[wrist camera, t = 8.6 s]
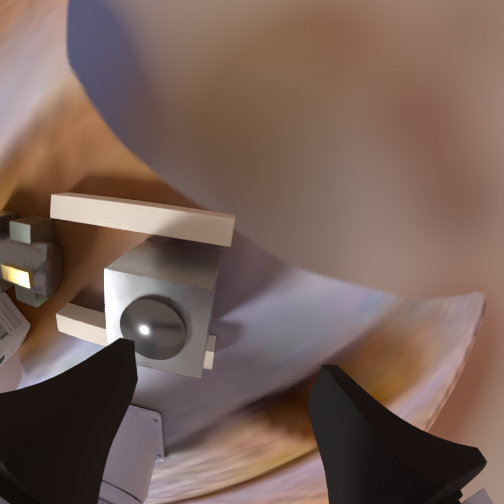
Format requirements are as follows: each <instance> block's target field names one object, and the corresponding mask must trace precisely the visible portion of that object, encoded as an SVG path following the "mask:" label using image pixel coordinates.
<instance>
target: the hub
mask: <svg viewBox="0 0 504 504" xmlns="http://www.w3.org/2000/svg"><path fill="white" fill-rule="evenodd" d="M221 254H222V253H220V252H214V251H208V250H202V249H196V248H190V247H185V246H179V245H173V244H167V243H161V242H155V241H150V240H145V241H143V242H142V243H140V244H139V245H137V246H136V247H134V248H133V249H131V250H130V251H129V252H127V253H126V254H124V255H123V256H121V257H120V258H118V259H117V260H116V261H114V262H113V263H111V264H110V265H109V266H107V267H106V268H105V269H104V286H105V313H106V328H107V340H108V345H109V344H111V343H112V342H114V341H115V340H117V339H119V338H124V339H128V340H133V341H135V355H136V365H139V366H143V367H147V368H151V369H155V370H160V371H164V372H169V373H174V374H179V375H184V376H189V377H195V378H202V372H203V367H204V361H205V355H206V349H207V343H208V338H209V332H210V327H211V321H212V314H213V307H214V300H215V293H216V286H217V280H218V273H219V267H220V261H221Z"/></svg>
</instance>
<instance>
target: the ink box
mask: <svg viewBox="0 0 504 504" xmlns="http://www.w3.org/2000/svg"><path fill="white" fill-rule="evenodd" d="M29 329H30V323H29V322H28V321H27V319H26V318H25V317H24V316H23V314H22V313H21V312H20V311H19V309H18V308H17V307H16V306H15V304H14V303H13V302H12V300H11V299H10V298H9V296H8V295H7V293H6V292H5V291H4V292H3V293H0V366H1V365H2V364H4V362H5V361H6V360H7V359H8V358H9V357H10V356H11V355H12V354H13V353H14V352H15V351H16V350H17V349H18V348H19V347H20V346H21V345H22V343H23V341H24V339H25V337H26V335H27V333H28V331H29Z"/></svg>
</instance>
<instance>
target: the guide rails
mask: <svg viewBox="0 0 504 504" xmlns="http://www.w3.org/2000/svg"><path fill="white" fill-rule="evenodd" d="M50 218H55V219H62V220H68V221H74V222H80V223H86V224H93V225H99V226H105V227H111V228H117V229H123V230H130V231H136V232H142V233H148V234H154V235H160V236H167V237H173V238H179V239H185V240H191V241H197V242H203V243H209V244H215V245H222V246H228V247H231V241H232V235H233V229H234V223H235V215H232V214H226V213H220V212H213V211H207V210H201V209H194V208H188V207H181V206H174V205H167V204H160V203H153V202H146V201H138V200H131V199H123V198H115V197H106V196H98V195H89V194H80V193H71V192H65V193H58V194H51V209H50ZM56 318H57V324H58V330H59V331H60V332H63V333H66V334H69V335H72V336H75V337H78V338H81V339H84V340H87V341H90V342H93V343H96V344H100V345H103V346H108V340H107V328H106V313H103V312H99V311H96V310H92V309H88V308H85V307H81V306H78V305H75V304H71V303H68V304H67V305H65V306H64V307H63V308H62V309H61V310H60V311H58V312H57V313H56ZM215 343H216V336H213V335H209V338H208V343H207V349H206V355H205V361H204V367H203V368H205V369H211V370H212V365H213V358H214V350H215Z"/></svg>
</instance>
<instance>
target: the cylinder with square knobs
mask: <svg viewBox="0 0 504 504" xmlns="http://www.w3.org/2000/svg"><path fill="white" fill-rule="evenodd" d="M62 271H63V257H62V253H61V250H60V248H59V247H58V246H57V245H56V244H54V243H53V218H49V217H43V216H36V215H30V216H27V217H23V218H19V219H17V212H11V211H5V210H0V293H3V292H4V291H6V290H8V289H9V288H11V287H13V286H15V292H16V299H17V300H18V301H21V302H23V303H26V304H28V305H31V306H33V307H36V308H37V307H39V306H40V305H41V304H43V303H44V302H45V301H47V300H48V299H49V298H51V297H52V296H53V295H55V294H56V288H57V287H58V285H59V283H60V280H61V276H62Z"/></svg>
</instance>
